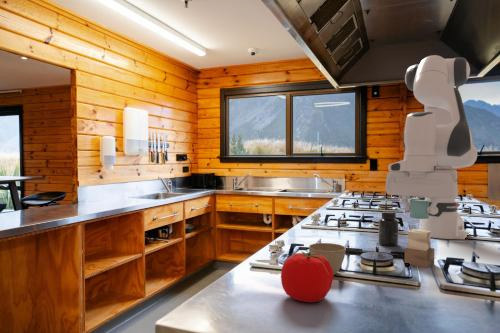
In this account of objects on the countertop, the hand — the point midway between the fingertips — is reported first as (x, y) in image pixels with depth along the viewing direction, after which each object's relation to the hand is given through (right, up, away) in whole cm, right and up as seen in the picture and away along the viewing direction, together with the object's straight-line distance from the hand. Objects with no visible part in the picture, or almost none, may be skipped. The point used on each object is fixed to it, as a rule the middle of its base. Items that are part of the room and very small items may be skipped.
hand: (419, 212), depth 105 cm
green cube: (0, -2, 0) cm, 2 cm away
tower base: (0, -16, 0) cm, 16 cm away
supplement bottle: (+1, -16, +25) cm, 29 cm away
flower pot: (-29, -16, -8) cm, 34 cm away
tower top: (0, -11, 0) cm, 11 cm away
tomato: (-38, -16, -26) cm, 49 cm away
